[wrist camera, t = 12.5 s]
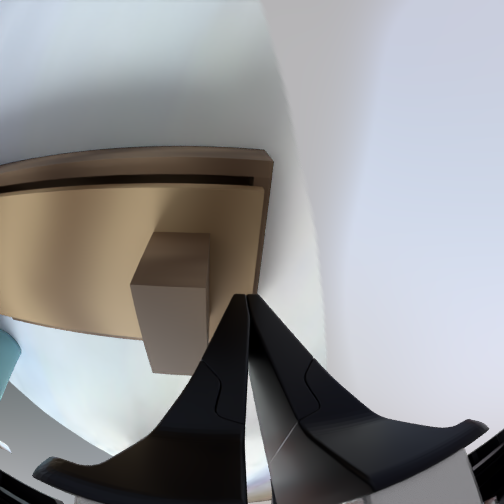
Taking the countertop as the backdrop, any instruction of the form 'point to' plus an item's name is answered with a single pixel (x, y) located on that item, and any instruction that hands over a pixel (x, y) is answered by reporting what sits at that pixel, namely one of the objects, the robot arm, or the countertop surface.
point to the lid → (131, 261)
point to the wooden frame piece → (145, 176)
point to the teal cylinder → (7, 358)
